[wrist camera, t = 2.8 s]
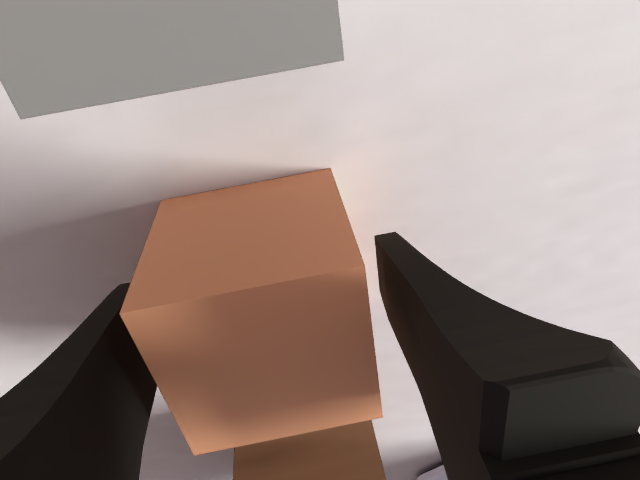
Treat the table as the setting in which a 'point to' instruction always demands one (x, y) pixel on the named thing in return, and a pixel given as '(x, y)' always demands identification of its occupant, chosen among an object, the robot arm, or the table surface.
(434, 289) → the robot arm
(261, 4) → the slate grey block
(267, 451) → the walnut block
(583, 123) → the table surface
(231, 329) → the terracotta block
